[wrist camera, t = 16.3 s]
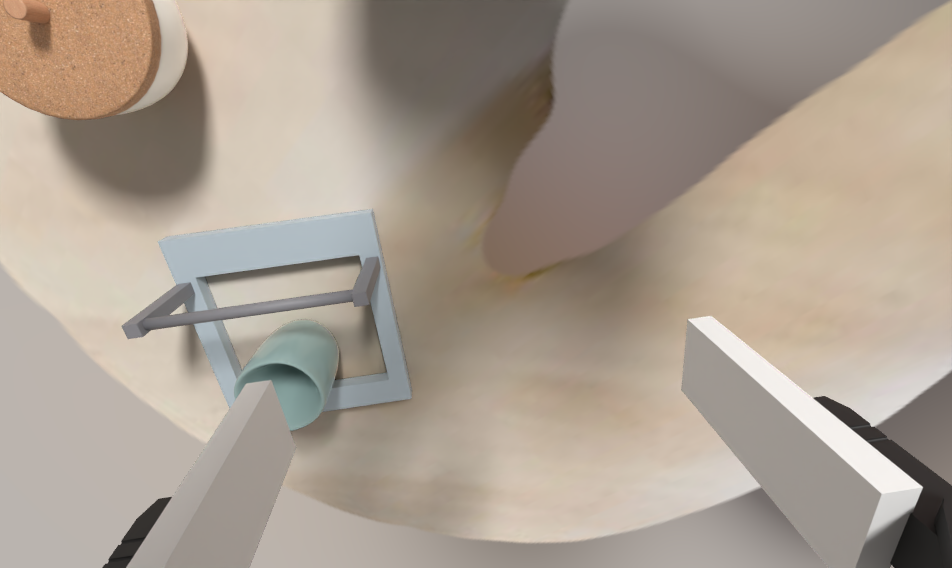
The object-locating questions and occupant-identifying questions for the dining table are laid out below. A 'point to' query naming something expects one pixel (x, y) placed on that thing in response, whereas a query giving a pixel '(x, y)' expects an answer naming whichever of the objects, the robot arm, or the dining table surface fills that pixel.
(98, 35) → the lidded bowl
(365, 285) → the towel rail frame
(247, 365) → the cup
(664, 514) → the dining table surface
